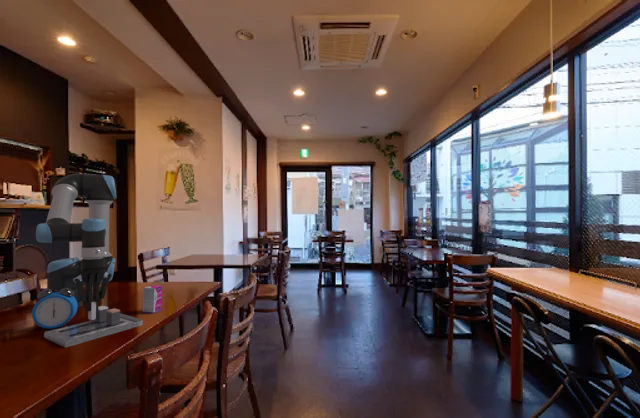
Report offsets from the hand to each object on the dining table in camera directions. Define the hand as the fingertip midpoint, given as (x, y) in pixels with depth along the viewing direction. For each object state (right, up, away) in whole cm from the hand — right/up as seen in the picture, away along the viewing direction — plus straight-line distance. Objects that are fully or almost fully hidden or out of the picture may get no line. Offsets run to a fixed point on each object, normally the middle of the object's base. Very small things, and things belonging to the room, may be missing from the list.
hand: (91, 318), depth 124 cm
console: (+3, -4, -2) cm, 6 cm away
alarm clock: (-16, -4, +2) cm, 17 cm away
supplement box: (+12, -5, +23) cm, 26 cm away
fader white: (+2, -2, +3) cm, 4 cm away
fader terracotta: (+9, -1, -1) cm, 9 cm away
